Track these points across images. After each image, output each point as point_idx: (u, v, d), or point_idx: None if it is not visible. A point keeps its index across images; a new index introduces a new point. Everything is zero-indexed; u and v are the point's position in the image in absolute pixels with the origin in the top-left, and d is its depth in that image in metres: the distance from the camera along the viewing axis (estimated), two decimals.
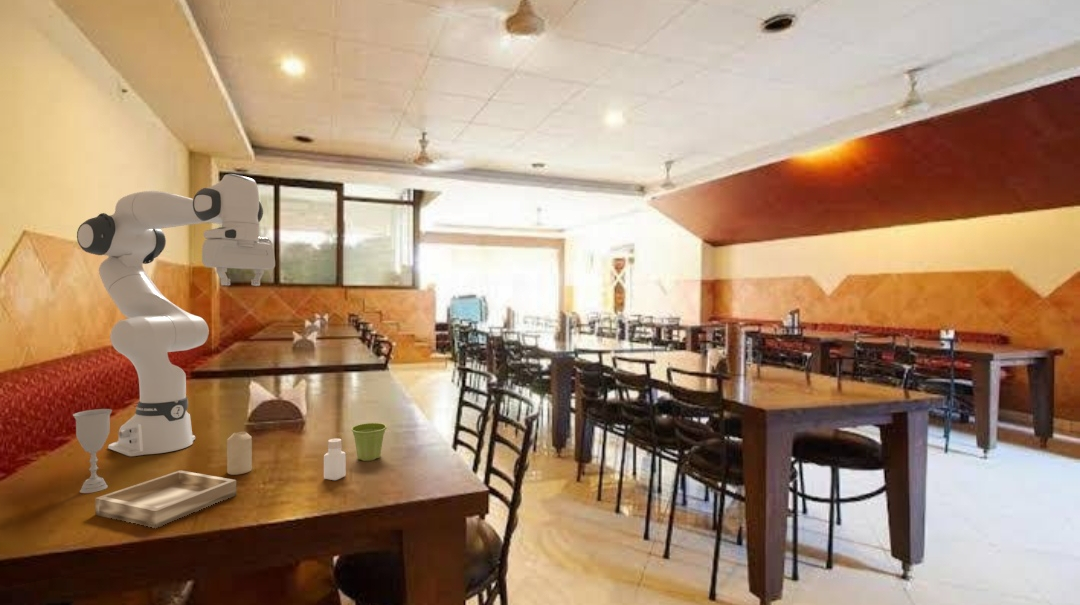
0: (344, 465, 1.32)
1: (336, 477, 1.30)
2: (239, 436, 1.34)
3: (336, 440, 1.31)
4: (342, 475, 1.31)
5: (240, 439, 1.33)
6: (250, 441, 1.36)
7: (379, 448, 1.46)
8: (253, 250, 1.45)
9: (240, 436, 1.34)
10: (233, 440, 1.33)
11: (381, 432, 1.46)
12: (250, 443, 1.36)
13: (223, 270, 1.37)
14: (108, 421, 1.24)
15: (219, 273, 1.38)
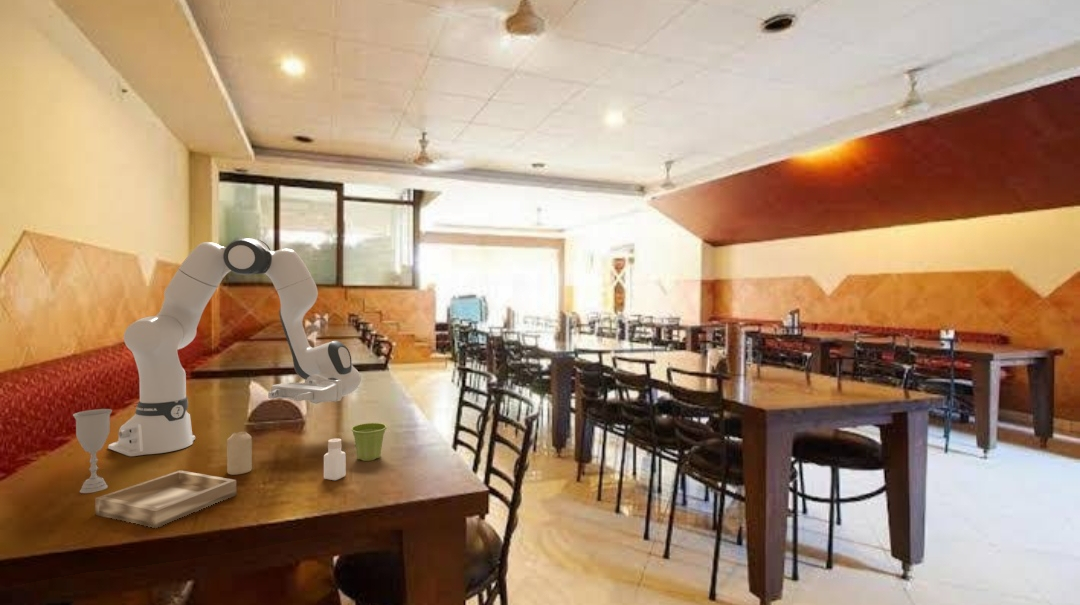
0: (344, 465, 1.32)
1: (336, 477, 1.30)
2: (239, 436, 1.34)
3: (336, 440, 1.31)
4: (342, 475, 1.31)
5: (241, 439, 1.33)
6: (250, 441, 1.36)
7: (379, 448, 1.46)
8: None
9: (240, 436, 1.34)
10: (233, 440, 1.33)
11: (381, 432, 1.46)
12: (250, 443, 1.36)
13: None
14: (108, 421, 1.24)
15: (308, 395, 1.49)
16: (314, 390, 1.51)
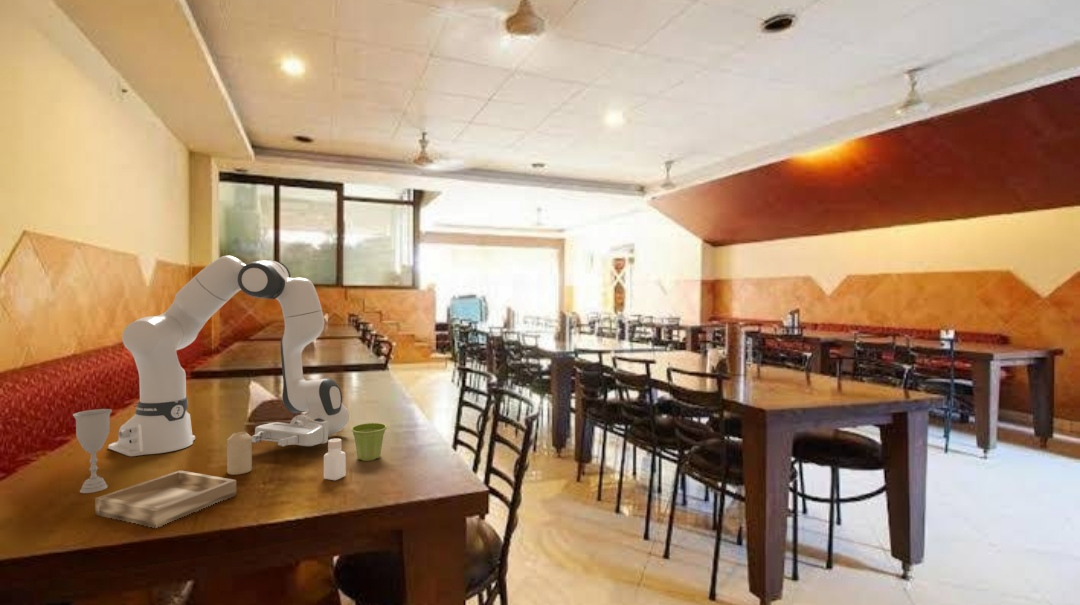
0: (344, 465, 1.32)
1: (336, 477, 1.30)
2: (239, 436, 1.34)
3: (336, 440, 1.31)
4: (342, 475, 1.31)
5: (240, 439, 1.33)
6: (250, 441, 1.36)
7: (379, 448, 1.46)
8: None
9: (240, 436, 1.34)
10: (233, 440, 1.33)
11: (381, 432, 1.46)
12: (250, 443, 1.36)
13: None
14: (108, 421, 1.24)
15: (293, 439, 1.44)
16: (299, 434, 1.46)
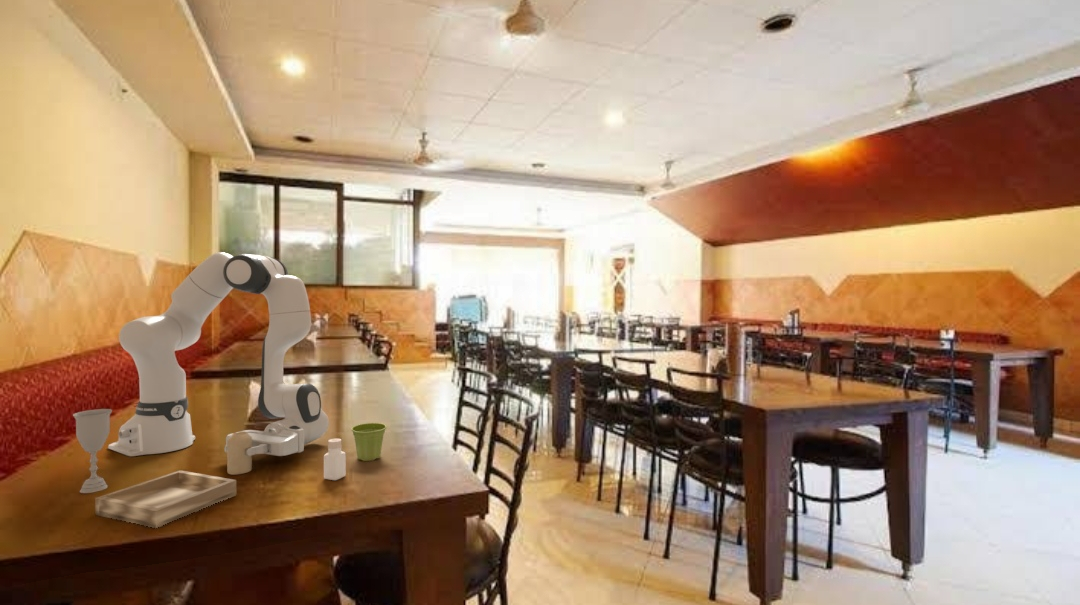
0: (344, 465, 1.32)
1: (336, 477, 1.30)
2: (239, 436, 1.34)
3: (336, 440, 1.31)
4: (342, 475, 1.31)
5: (240, 439, 1.33)
6: (250, 441, 1.36)
7: (379, 448, 1.46)
8: None
9: (240, 436, 1.34)
10: (233, 440, 1.33)
11: (381, 432, 1.46)
12: (250, 443, 1.36)
13: None
14: (108, 421, 1.24)
15: (261, 448, 1.36)
16: (272, 443, 1.37)
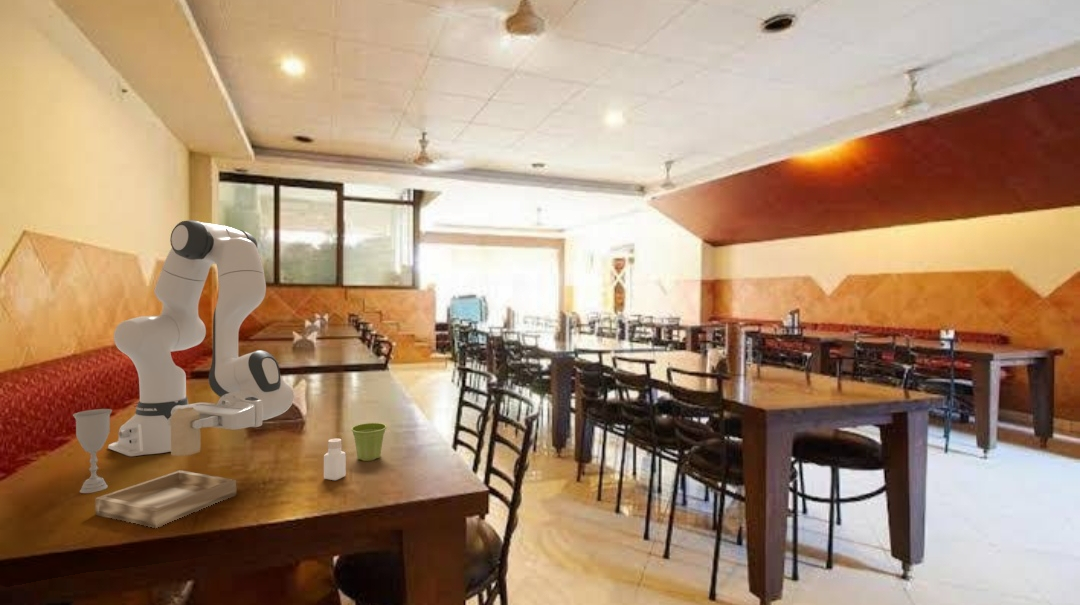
0: (344, 465, 1.32)
1: (336, 477, 1.30)
2: (184, 412, 1.16)
3: (336, 440, 1.31)
4: (342, 475, 1.31)
5: (186, 415, 1.16)
6: (198, 418, 1.18)
7: (379, 448, 1.46)
8: None
9: (185, 412, 1.17)
10: (177, 417, 1.15)
11: (381, 432, 1.46)
12: None
13: None
14: (108, 421, 1.24)
15: (210, 421, 1.18)
16: (223, 414, 1.19)
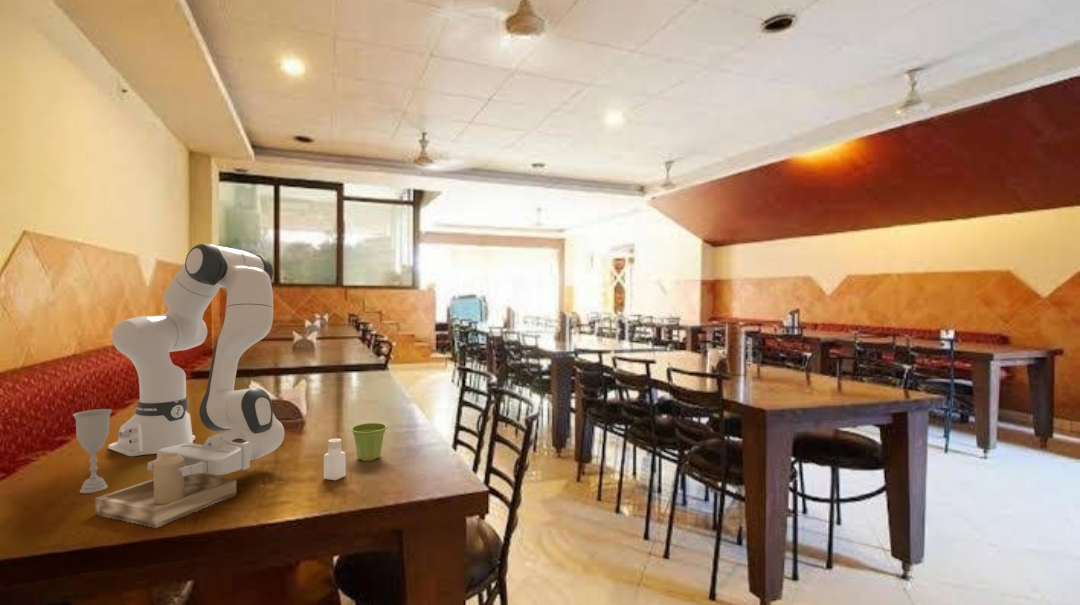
0: (344, 465, 1.32)
1: (336, 477, 1.30)
2: (168, 459, 1.13)
3: (336, 440, 1.31)
4: (342, 475, 1.31)
5: (169, 462, 1.12)
6: (182, 464, 1.15)
7: (379, 448, 1.46)
8: None
9: (169, 459, 1.13)
10: (160, 464, 1.12)
11: (381, 432, 1.46)
12: (182, 466, 1.15)
13: None
14: (108, 421, 1.24)
15: (199, 467, 1.14)
16: (208, 460, 1.16)
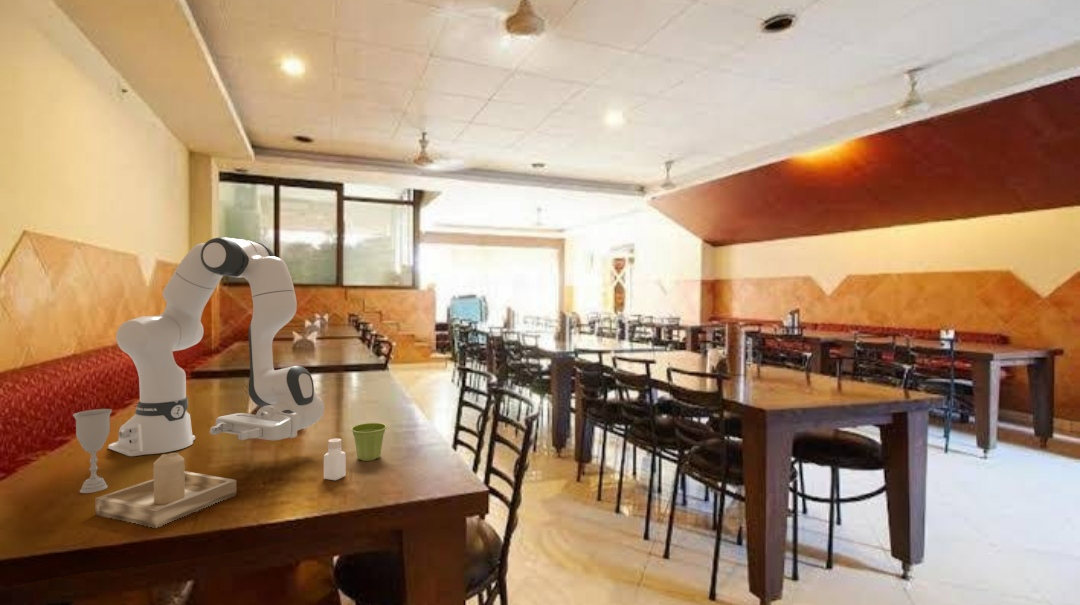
0: (344, 465, 1.32)
1: (336, 477, 1.30)
2: (168, 459, 1.13)
3: (336, 440, 1.31)
4: (342, 475, 1.31)
5: (169, 462, 1.12)
6: (182, 464, 1.15)
7: (379, 448, 1.46)
8: None
9: (169, 458, 1.13)
10: (160, 464, 1.12)
11: (381, 432, 1.46)
12: (182, 466, 1.15)
13: None
14: (108, 421, 1.24)
15: (256, 433, 1.29)
16: (263, 426, 1.30)
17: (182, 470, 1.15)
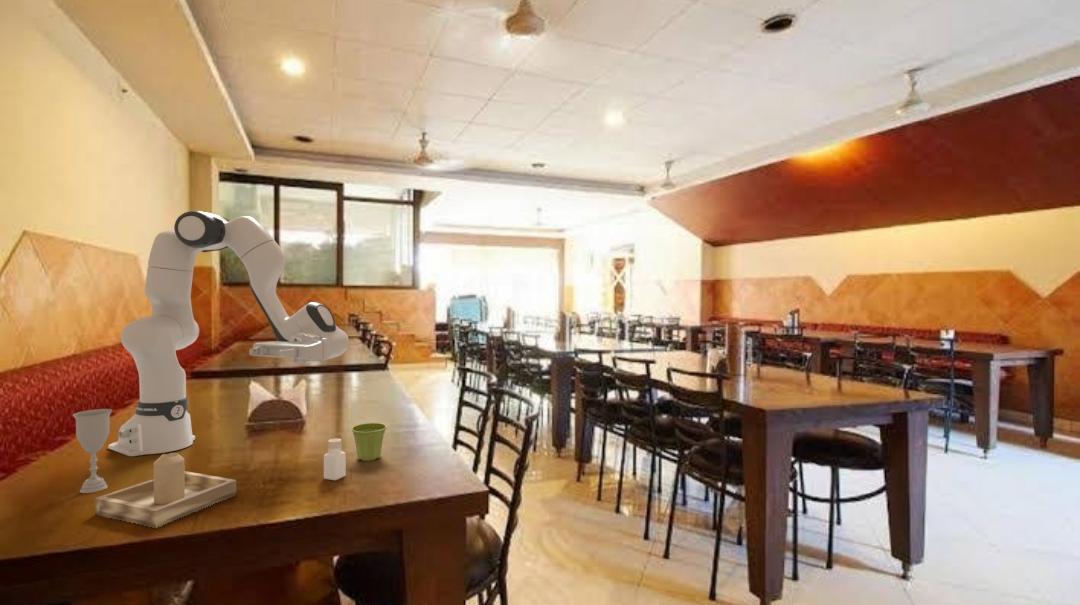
0: (344, 465, 1.32)
1: (336, 477, 1.30)
2: (168, 459, 1.13)
3: (336, 440, 1.31)
4: (342, 475, 1.31)
5: (169, 462, 1.12)
6: (182, 464, 1.15)
7: (379, 448, 1.46)
8: None
9: (169, 459, 1.13)
10: (160, 464, 1.12)
11: (381, 432, 1.46)
12: (182, 466, 1.15)
13: None
14: (108, 421, 1.24)
15: (292, 352, 1.41)
16: (298, 347, 1.42)
17: (182, 470, 1.15)
